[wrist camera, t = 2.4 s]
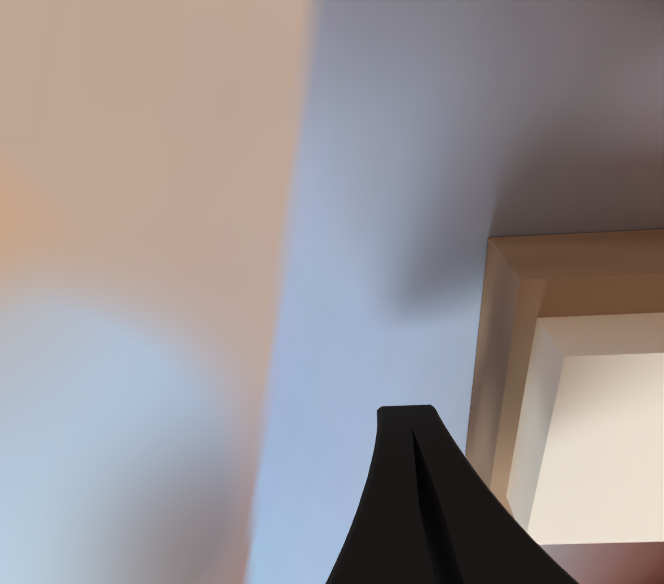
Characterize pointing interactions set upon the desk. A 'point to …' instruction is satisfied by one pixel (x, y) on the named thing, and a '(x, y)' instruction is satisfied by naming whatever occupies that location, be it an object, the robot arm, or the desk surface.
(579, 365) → the cream rectangular block
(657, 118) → the desk surface
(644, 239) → the block
